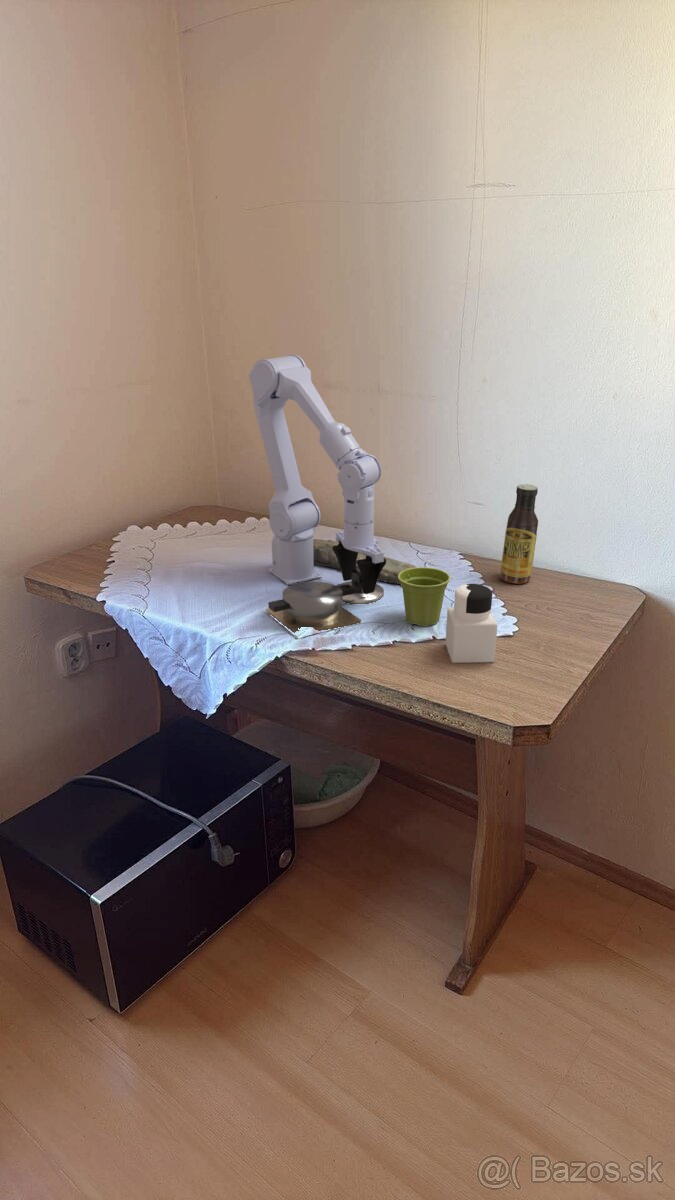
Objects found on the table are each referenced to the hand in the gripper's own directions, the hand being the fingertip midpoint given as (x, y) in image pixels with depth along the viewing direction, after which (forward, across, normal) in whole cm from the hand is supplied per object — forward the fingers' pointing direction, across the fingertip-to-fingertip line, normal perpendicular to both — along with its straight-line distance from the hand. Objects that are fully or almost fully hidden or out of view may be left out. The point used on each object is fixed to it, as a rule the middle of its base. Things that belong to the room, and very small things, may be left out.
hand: (358, 586), depth 158 cm
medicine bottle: (+2, -31, -3) cm, 31 cm away
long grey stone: (+2, +14, -7) cm, 16 cm away
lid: (+2, 0, 0) cm, 2 cm away
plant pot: (+2, -16, -4) cm, 17 cm away
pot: (+2, -5, +13) cm, 14 cm away
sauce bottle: (+2, -10, -32) cm, 34 cm away
